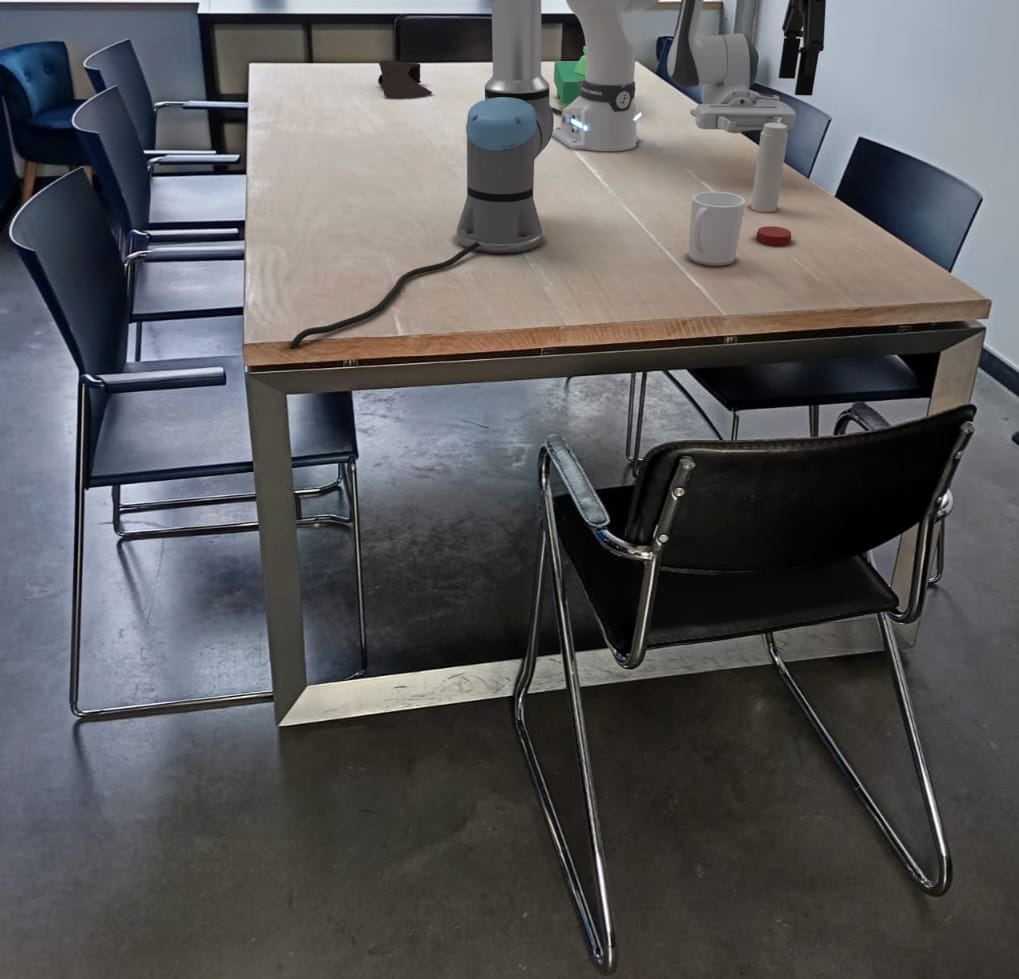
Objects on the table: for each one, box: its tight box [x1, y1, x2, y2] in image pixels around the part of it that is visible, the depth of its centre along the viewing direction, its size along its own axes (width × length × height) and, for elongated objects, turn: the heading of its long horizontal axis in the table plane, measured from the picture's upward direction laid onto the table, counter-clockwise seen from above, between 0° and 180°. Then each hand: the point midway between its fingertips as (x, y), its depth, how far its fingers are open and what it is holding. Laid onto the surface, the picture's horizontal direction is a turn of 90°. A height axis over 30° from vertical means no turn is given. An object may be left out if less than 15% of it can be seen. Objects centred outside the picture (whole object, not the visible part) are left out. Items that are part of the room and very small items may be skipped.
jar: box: [750, 123, 789, 213], centre depth 211 cm, size 5×5×16 cm
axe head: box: [377, 59, 433, 99], centre depth 299 cm, size 18×8×15 cm
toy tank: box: [553, 45, 586, 111], centre depth 289 cm, size 18×12×35 cm
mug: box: [687, 191, 747, 267], centre depth 186 cm, size 11×9×10 cm
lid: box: [755, 225, 792, 247], centre depth 198 cm, size 6×6×2 cm
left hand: (794, 86), depth 185 cm, fingers open, 13 cm apart
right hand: (754, 127), depth 219 cm, fingers open, 8 cm apart
